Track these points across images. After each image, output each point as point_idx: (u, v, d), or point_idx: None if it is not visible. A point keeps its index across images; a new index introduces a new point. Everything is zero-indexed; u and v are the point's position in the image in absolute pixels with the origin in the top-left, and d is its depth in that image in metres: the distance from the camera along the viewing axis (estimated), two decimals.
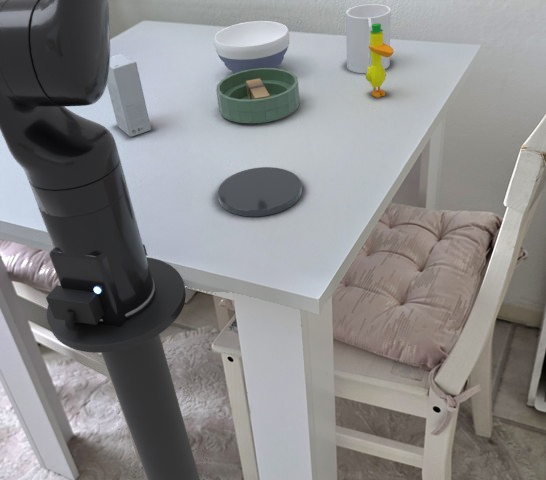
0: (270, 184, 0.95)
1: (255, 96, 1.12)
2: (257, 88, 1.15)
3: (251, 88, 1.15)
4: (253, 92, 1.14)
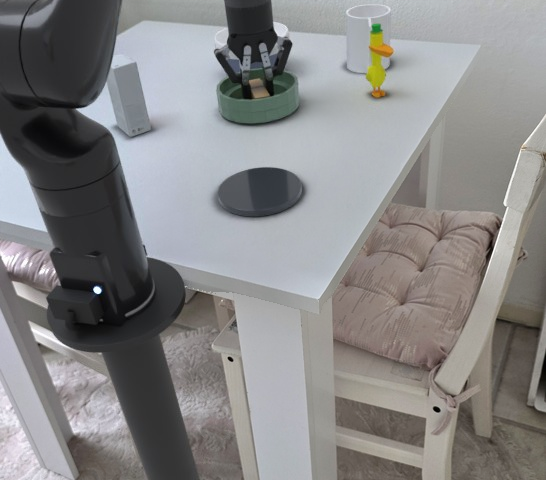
0: (270, 184, 0.95)
1: (255, 96, 1.12)
2: (257, 88, 1.15)
3: (251, 88, 1.15)
4: (253, 92, 1.14)
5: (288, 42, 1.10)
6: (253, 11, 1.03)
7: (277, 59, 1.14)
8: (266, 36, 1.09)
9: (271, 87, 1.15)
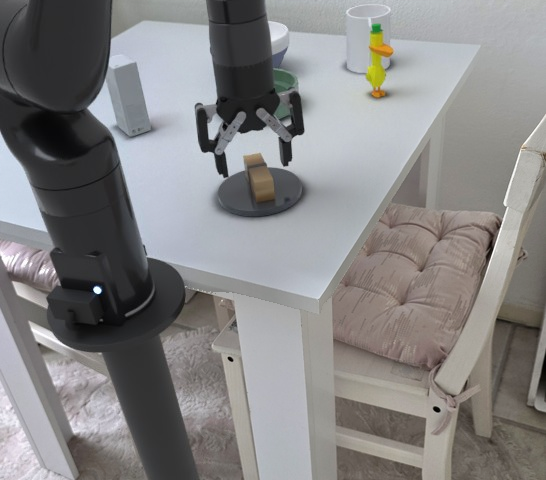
0: None
1: (255, 180, 0.90)
2: (257, 168, 0.92)
3: (250, 168, 0.92)
4: (252, 174, 0.91)
5: (294, 95, 0.86)
6: (249, 71, 0.80)
7: (292, 116, 0.89)
8: (265, 99, 0.85)
9: (289, 149, 0.91)
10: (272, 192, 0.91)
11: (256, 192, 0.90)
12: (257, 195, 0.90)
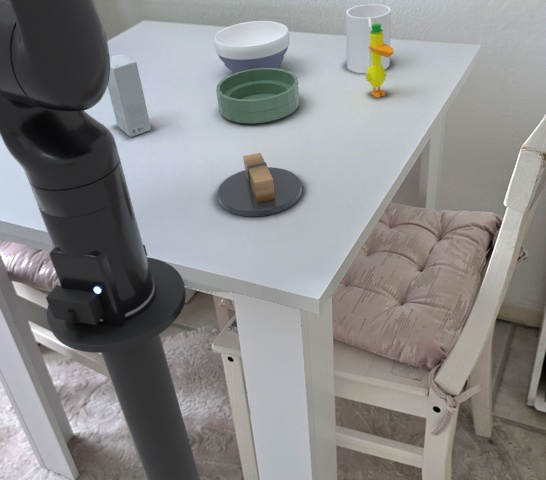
0: None
1: (255, 180, 0.90)
2: (257, 168, 0.92)
3: (250, 168, 0.92)
4: (252, 174, 0.91)
5: None
6: None
7: None
8: None
9: None
10: (272, 192, 0.91)
11: (256, 192, 0.90)
12: (257, 195, 0.90)
